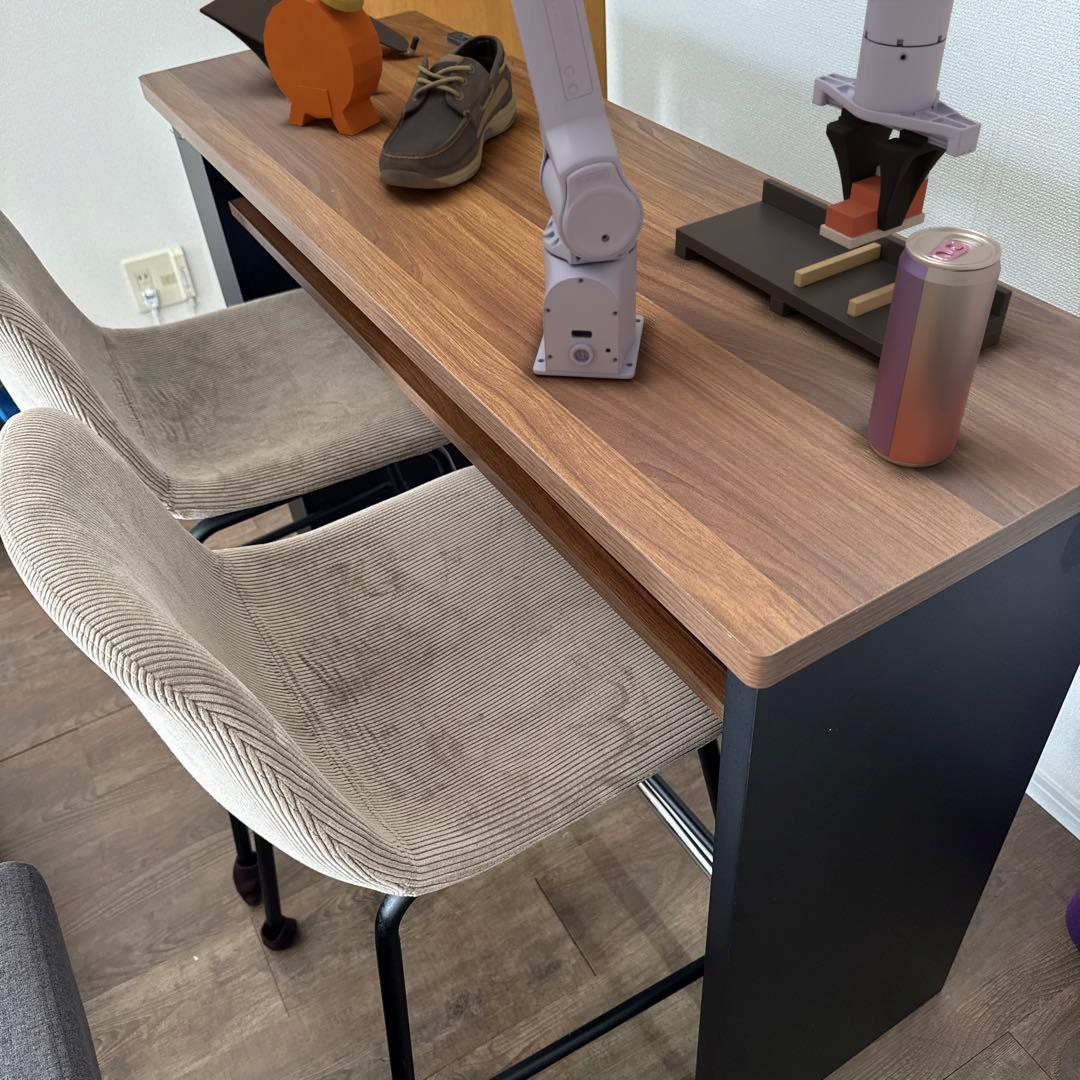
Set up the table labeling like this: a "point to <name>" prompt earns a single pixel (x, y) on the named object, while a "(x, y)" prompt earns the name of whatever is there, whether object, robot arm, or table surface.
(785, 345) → the table surface
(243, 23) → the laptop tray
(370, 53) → the alarm clock
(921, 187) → the stepped block
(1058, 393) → the table surface
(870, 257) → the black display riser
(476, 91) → the boat shoe
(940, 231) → the beverage can
